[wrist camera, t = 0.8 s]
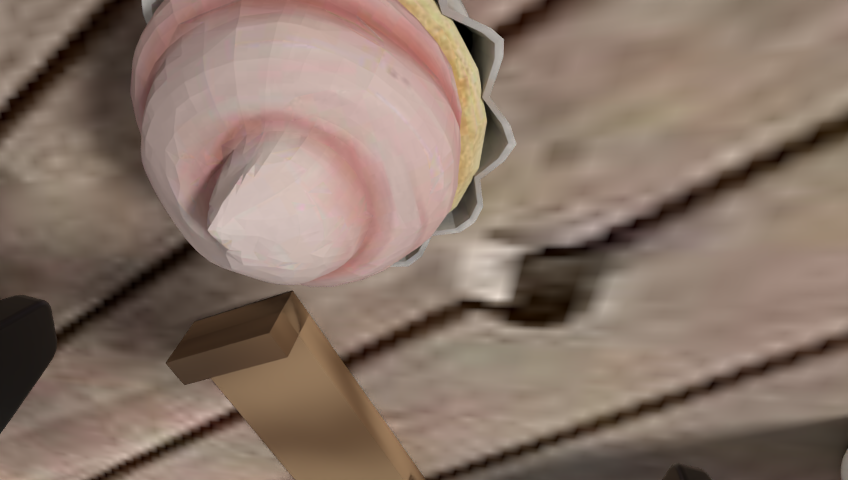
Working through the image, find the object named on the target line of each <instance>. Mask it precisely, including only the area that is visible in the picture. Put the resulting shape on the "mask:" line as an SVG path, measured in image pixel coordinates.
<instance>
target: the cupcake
mask: <svg viewBox="0 0 848 480" xmlns="http://www.w3.org/2000/svg"><path fill="white" fill-rule="evenodd" d="M142 10H143V15H144V18H145V21H146V24H147V26H146V27H145V29H144V31H143V32H142V34H141V36H140V39H139V41H138V44H137V46H136V48H135V52H134V56H133V61H132V75H131V87H130V94H131V99H132V103H133V108H134V113H135V117H136V122H137V125H138V128H139V131H140V134H141V157H142V163H143V166H144V169H145V172H146V175H147V177H148V179H149V181H150V183H151V185H152V187H153V189H154V191H155V193H156V194H157V196H158V198H159V200H160V201H161V203H162V205H163V207H164V208H165V210H166V211H167V213H168V215H169V216H170V218H171V219H172V220H173V222H174V223H175V225H176V226H177V227H178V229H179V230H180V232H181V233H182V234H183V236H184V237H185V238H186V240H187V241H188V242H189V243H190V244H191V245H192V246H193V247H194V248H195V250H196V251H198V252H199V253H200V254H201V255H202V256H204V257H205V258H206V259H207V260H208V261H210V262H212V263H214V264H216V265H218V266H220V267H221V268H224V269H227V270H230V271H233V272H237V273H240V274H243V275H246V276H249V277H252V278H255V279H258V280H261V281H264V282H269V283H274V284H283V285H297V284H301V285H305V286H308V287H332V286H337V285H341V284H346V283H350V282H355V281H359V280H363V279H365V278H368V277H370V276H372V275H375V274H377V273H379V272H382V271H384V270H385V269H387V268H388V267H390V266H409V265H411V264H412V263H413V262H415V261H416V260H417V259H419V258H420V257H422V255H423V253H424V251H425V249H426V247H427V245H428V243H429V241H430V239H431V237H432V236H434V235H442V234H450V233H458V232H461V231H463V230H464V229H466V228H467V227H469V226H470V225H471V224H473V223H474V222H475V221H476V219H477V217H478V215H479V213H480V211H481V209H482V208H483V201H482V192H481V183H480V179H482V178H483V177H484V176H485V175H487V174H488V173H489V172H491V171H492V170H493V169H495V168H496V167H497V166H499V165H500V164H501V163H502V162H504V161H505V160H506V158H507V157H508V155H509V154H510V152H511V151H512V150H513V148H514V147H515V145H516V141H515V138H514V135H513V132H512V130H511V127H510V124H509V123H508V121H507V120H506V118H505V117H504V116H503V114H502V113H501V112H500V110H499V109H498V108H497V106H496V105H495V103H494V102H493V101H492V99H491V98H490V94H491V91H492V88H493V85H494V82H495V80H496V77H497V74H498V71H499V68H500V65H501V62H502V59H503V49H504V39H503V38H502V37H500V36H499V35H498V34H497V33H496V32H495V31H494V30H492V29H491V28H490V27H488V26H485V25H483V24H481V23H479V22H477V21H475V20H473V19H470V18H469V16H468V13H467V11H466V9H465V7H464V5H463V3H462V1H461V0H142Z"/></svg>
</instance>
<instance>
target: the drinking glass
mask: <svg viewBox="0 0 848 480" xmlns="http://www.w3.org/2000/svg"><path fill="white" fill-rule="evenodd" d="M841 479H842V480H848V449H847V450H846V452H845V454H844V456H843V459H842V463H841Z"/></svg>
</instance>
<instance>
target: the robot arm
mask: <svg viewBox="0 0 848 480" xmlns="http://www.w3.org/2000/svg"><path fill="white" fill-rule="evenodd" d="M56 348H57V337H56V332H55V327H54V321H53V316H52V311H51V307H50V305H49V304H48V302H46V301H44V300H41V299H37V298H33V297H29V296H25V295H17V296H13V297H9V298H6V299H2V300H0V433H1V432H2V431H3V429H4V428H5V427H6V425H7V424H8V422H9V421H10V420H11V418H12V417H13V415H14V414H15V412H16V411H17V409H18V408H19V407H20V405H21V404H22V402H23V401H24V399H25V398H26V397H27V395H28V394H29V392H30V391H31V389H32V388H33V386H34V385H35V384H36V382H37V381H38V379H39V378H40V376H41V375H42V374H43V372H44V371H45V369H46V368H47V366H48V365H49V363H50V362H51V360H52V359H53V357H54V354H55V352H56ZM662 480H712V479H711V477H710V476H709V475H708V474H707V473H706V472H705V471H703V470H702V469H699V468H695V467H691V466H688V465H684V464H680V463H676V464H674V465H672V466H671V467H670V468H669V470H668V472H667V473H666V475H665V476H664V478H663V479H662Z"/></svg>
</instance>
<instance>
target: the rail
mask: <svg viewBox="0 0 848 480" xmlns="http://www.w3.org/2000/svg"><path fill="white" fill-rule="evenodd" d="M166 364H167V365H168V367H169V368H170V369H171V370H172V371H173V372H174V374H175V375H176V376H177V377H178V378H179V379H180V381H181V382H182V383H183V384H184V385H187V384H190V383H194V382H198V381H201V380H205V379H209V378H211V379H212V380H213V382H214V383H215V384H216V385H217V386H218V388H219V389H220V390H221V391H222V392H223V394H224V395H225V396H226V397H227V398H228V400H229V401H230V402H231V403H232V404H233V406H234V407H235V408H236V409H237V410H238V412H239V413H240V414H241V415H242V416H243V418H244V419H245V420H246V421H247V422H248V424H249V425H250V426H251V427H252V429H253V430H254V431H255V432H256V433H257V435H258V436H259V437H260V438H261V439H262V441H263V442H264V443H265V444H266V445H267V447H268V448H269V449H270V450H271V451H272V453H273V454H274V455H275V456H276V457H277V459H278V460H279V461H280V462H281V463H282V465H283V466H284V467H285V468H286V469H287V471H288V472H289V473H290V474H291V475H292V477H293V478H294V479H295V480H425V478H424V477H423V475H422V474H421V473H420V471H419V470H418V468H417V467H416V465H415V464H414V463H413V461H412V460H411V458H410V457H409V455H408V454H407V453H406V451H405V450H404V448H403V447H402V446H401V444H400V443H399V441H398V440H397V438H396V437H395V436H394V434H393V433H392V431H391V430H390V428H389V427H388V426H387V424H386V423H385V421H384V420H383V419H382V417H381V416H380V414H379V413H378V411H377V410H376V409H375V407H374V406H373V404H372V403H371V401H370V400H369V399H368V397H367V396H366V394H365V393H364V391H363V390H362V389H361V387H360V386H359V384H358V383H357V382H356V380H355V379H354V377H353V376H352V374H351V373H350V372H349V370H348V369H347V367H346V366H345V364H344V363H343V362H342V360H341V359H340V357H339V356H338V355H337V353H336V352H335V350H334V349H333V347H332V346H331V345H330V343H329V342H328V340H327V339H326V337H325V336H324V335H323V333H322V332H321V330H320V329H319V327H318V326H317V325H316V323H315V322H314V320H313V319H312V318H311V316H310V315H309V313H308V312H307V310H306V309H305V308H304V306H303V305H302V303H301V302H300V300H299V299H298V298H297V296H296V295H295V293H294V292H293V291H291V292H288V293H285V294H281V295H278V296H275V297H272V298H269V299H266V300H262V301H259V302H256V303H253V304H250V305H246V306H243V307H240V308H237V309H234V310H231V311H227V312H224V313H221V314H218V315H215V316H212V317H208V318H205V319H202V320H199V321H196V322H194V323H193V325H192V326H191V327H190V329H189V330H188V332H187V333H186V335H185V336H184V337H183V339H182V340H181V342H180V343H179V345H178V346H177V347H176V349H175V350H174V352H173V353H172V355H171V356H170V357H169V359H168V360H167V362H166Z"/></svg>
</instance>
